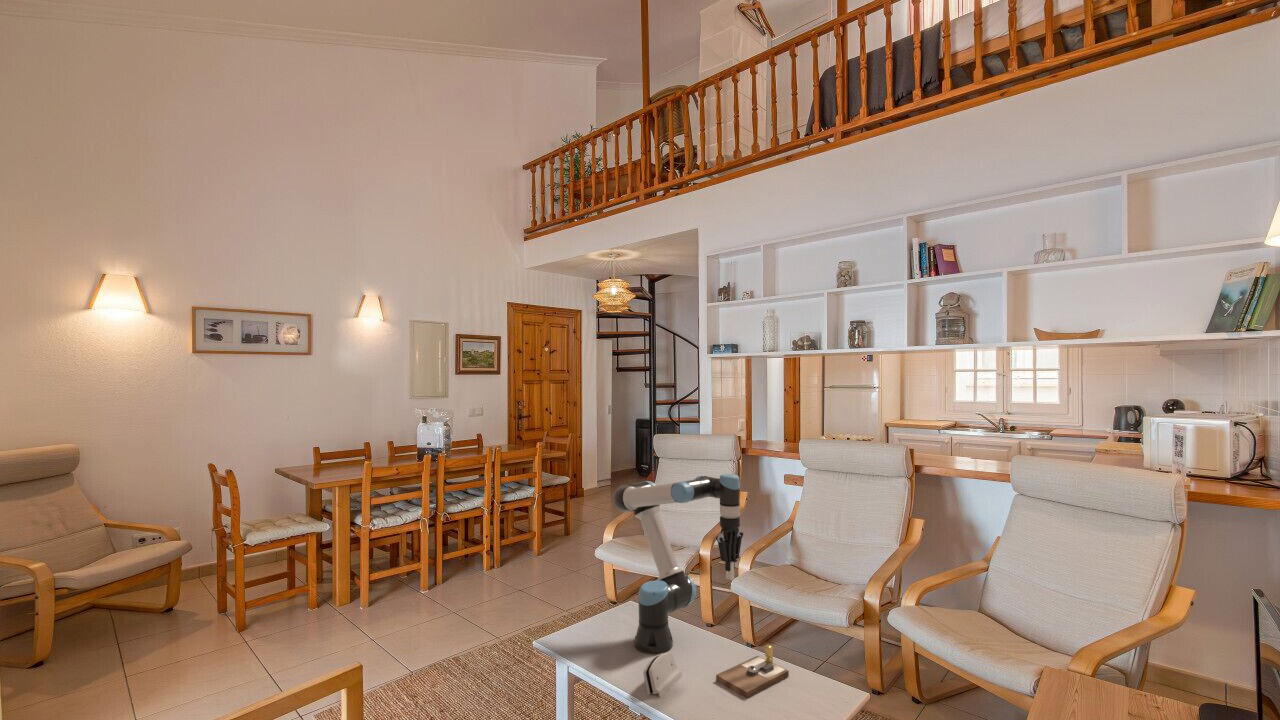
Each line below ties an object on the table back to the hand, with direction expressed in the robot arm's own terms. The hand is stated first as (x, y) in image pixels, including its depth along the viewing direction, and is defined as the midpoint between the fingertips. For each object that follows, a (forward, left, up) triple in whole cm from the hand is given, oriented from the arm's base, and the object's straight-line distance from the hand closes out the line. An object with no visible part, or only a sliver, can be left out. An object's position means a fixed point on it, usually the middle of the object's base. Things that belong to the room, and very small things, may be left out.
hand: (730, 578), depth 217 cm
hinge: (-2, -32, -30) cm, 44 cm away
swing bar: (+15, -1, -27) cm, 31 cm away
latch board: (+15, -5, -29) cm, 33 cm away
